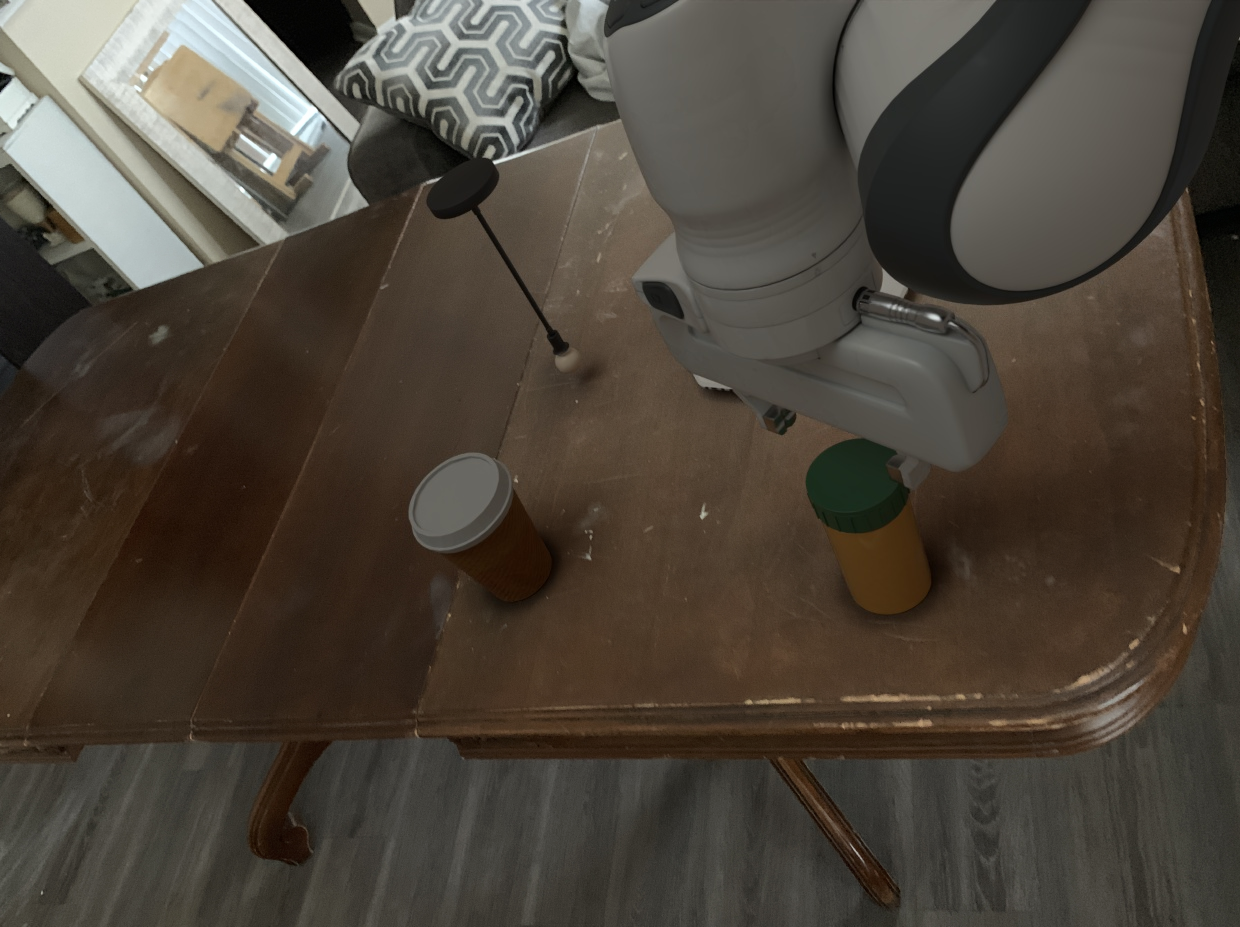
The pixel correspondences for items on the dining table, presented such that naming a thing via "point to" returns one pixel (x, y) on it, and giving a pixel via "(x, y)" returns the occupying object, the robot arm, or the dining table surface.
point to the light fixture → (490, 232)
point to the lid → (854, 487)
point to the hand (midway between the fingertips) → (841, 449)
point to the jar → (884, 564)
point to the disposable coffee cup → (480, 525)
